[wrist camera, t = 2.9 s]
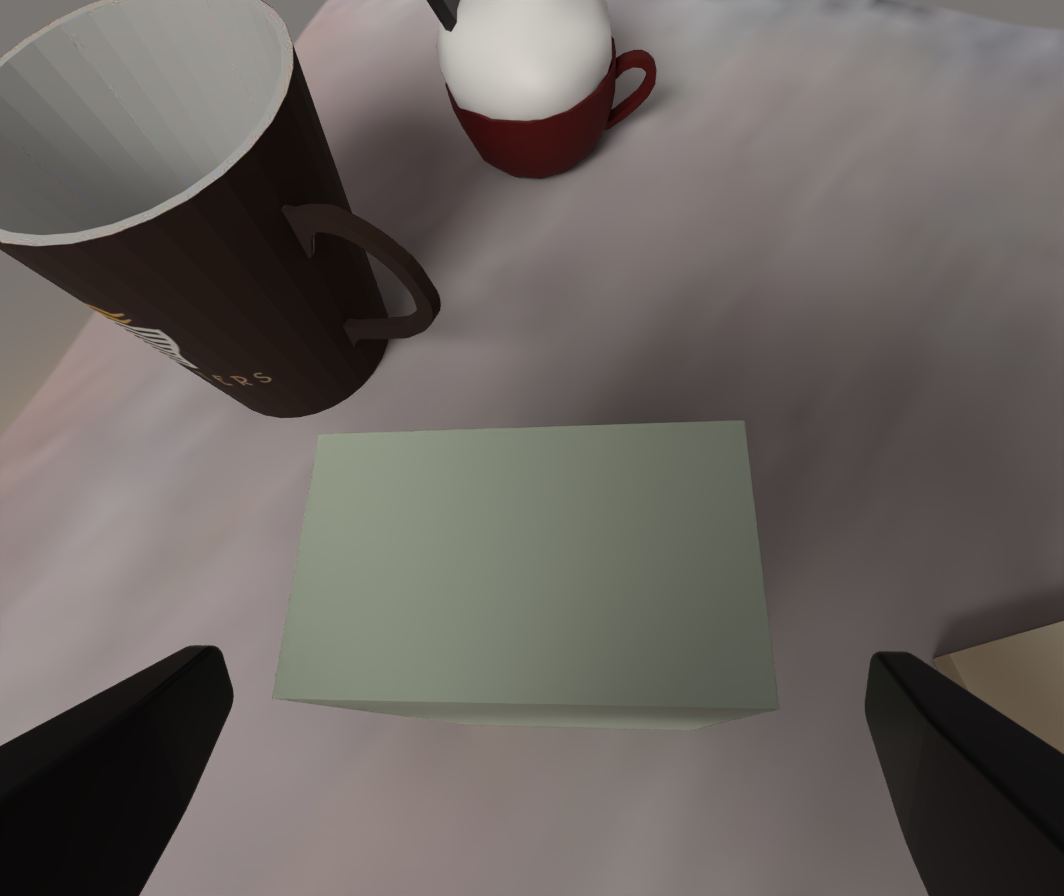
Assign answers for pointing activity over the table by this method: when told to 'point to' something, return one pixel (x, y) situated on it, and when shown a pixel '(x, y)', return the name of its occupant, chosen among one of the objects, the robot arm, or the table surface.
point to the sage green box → (533, 578)
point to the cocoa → (534, 79)
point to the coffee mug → (197, 198)
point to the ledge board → (1017, 678)
